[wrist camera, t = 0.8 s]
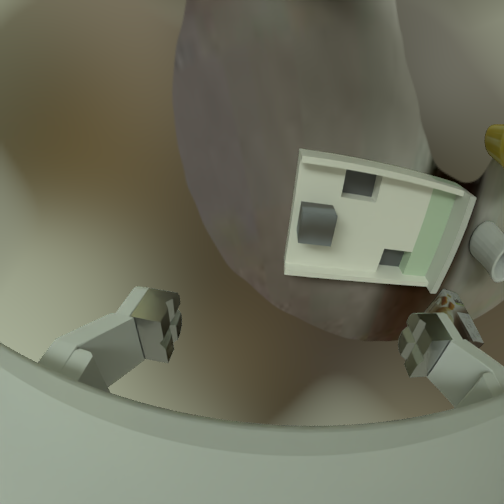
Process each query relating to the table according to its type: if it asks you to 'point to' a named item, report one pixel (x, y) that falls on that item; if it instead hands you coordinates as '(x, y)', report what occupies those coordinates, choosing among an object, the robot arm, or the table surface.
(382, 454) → the robot arm
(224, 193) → the table surface
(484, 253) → the mug
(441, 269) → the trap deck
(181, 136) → the table surface
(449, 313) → the coffee box
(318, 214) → the block
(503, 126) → the plant pot
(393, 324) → the table surface
